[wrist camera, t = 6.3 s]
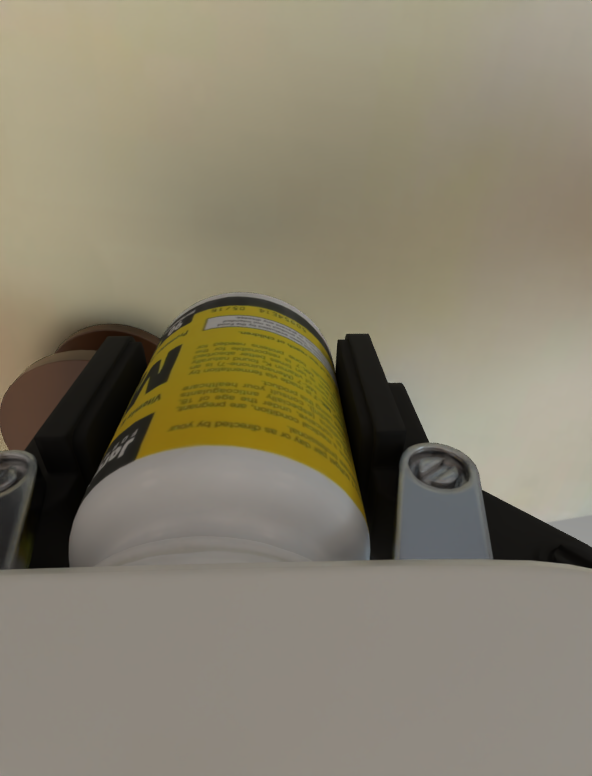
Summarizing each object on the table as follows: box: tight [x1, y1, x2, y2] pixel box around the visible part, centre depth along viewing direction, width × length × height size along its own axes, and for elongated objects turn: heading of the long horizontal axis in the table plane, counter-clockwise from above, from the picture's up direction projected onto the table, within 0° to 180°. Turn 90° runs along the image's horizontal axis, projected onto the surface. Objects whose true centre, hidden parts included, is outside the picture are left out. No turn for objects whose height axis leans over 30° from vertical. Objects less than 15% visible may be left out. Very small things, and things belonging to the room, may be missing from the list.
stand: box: [0, 324, 160, 451], centre depth 24 cm, size 9×9×5 cm
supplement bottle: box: [69, 292, 370, 567], centre depth 9 cm, size 5×5×8 cm
